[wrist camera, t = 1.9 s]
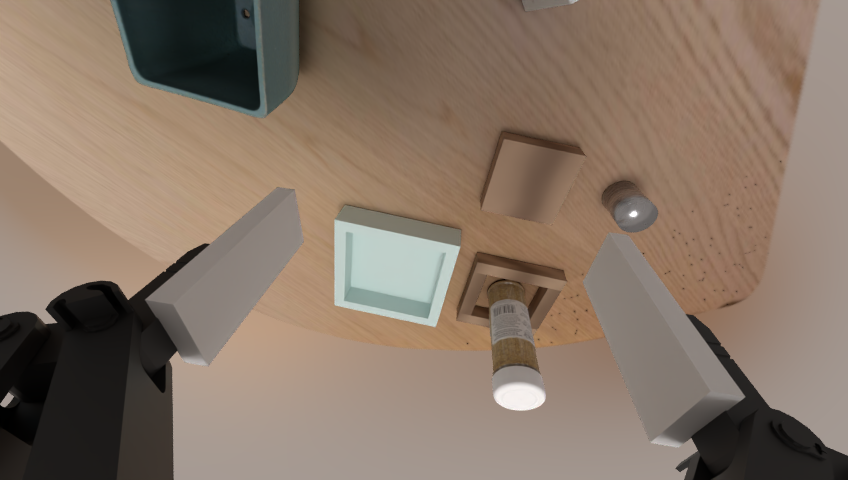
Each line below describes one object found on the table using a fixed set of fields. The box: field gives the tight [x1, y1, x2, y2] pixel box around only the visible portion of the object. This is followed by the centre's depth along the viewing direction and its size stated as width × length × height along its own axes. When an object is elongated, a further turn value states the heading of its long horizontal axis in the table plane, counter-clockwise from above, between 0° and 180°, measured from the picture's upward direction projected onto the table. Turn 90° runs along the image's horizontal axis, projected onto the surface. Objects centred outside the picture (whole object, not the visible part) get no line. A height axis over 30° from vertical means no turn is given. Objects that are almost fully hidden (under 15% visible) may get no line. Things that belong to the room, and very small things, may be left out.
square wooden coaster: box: [480, 132, 587, 225], centre depth 29 cm, size 7×7×2 cm
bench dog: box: [602, 181, 658, 232], centre depth 28 cm, size 3×3×4 cm
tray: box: [335, 205, 461, 327], centre depth 36 cm, size 13×13×3 cm
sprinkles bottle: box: [487, 280, 546, 410], centre depth 33 cm, size 5×5×14 cm
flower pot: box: [110, 0, 299, 118], centre depth 21 cm, size 9×9×9 cm
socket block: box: [456, 252, 567, 336], centre depth 38 cm, size 10×10×2 cm
